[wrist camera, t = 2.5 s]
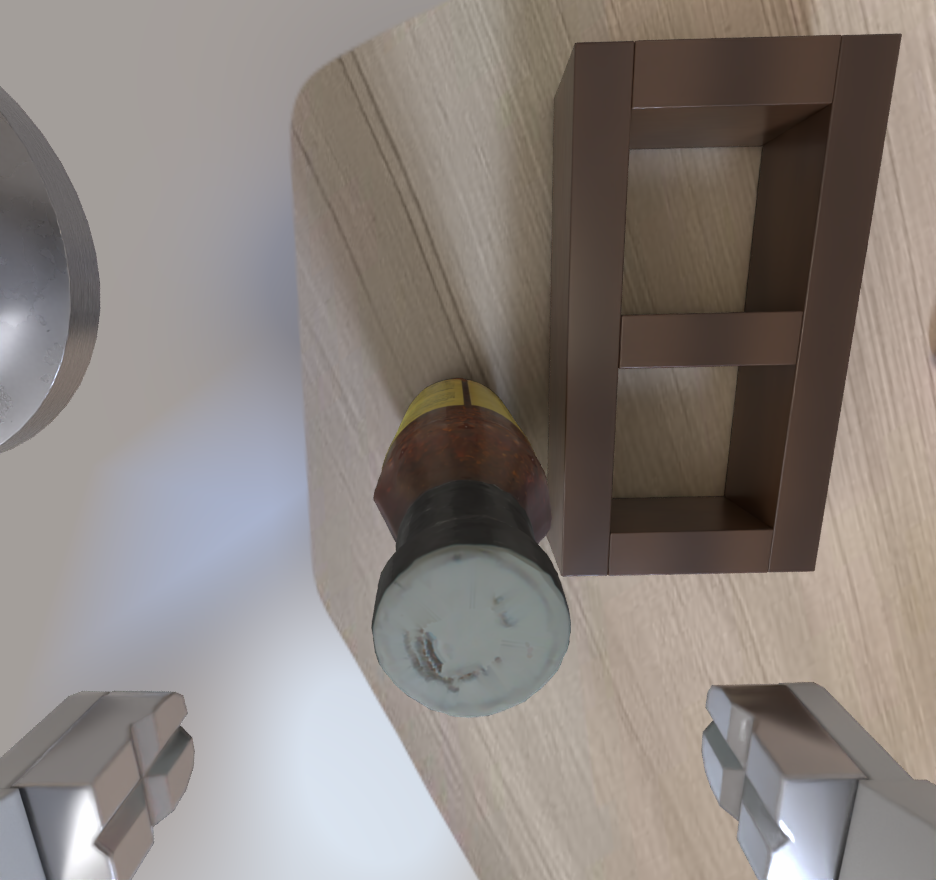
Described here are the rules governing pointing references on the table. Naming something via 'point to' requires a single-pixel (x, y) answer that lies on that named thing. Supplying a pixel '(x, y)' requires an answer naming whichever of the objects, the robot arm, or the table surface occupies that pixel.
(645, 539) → the hole block
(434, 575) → the sauce bottle
